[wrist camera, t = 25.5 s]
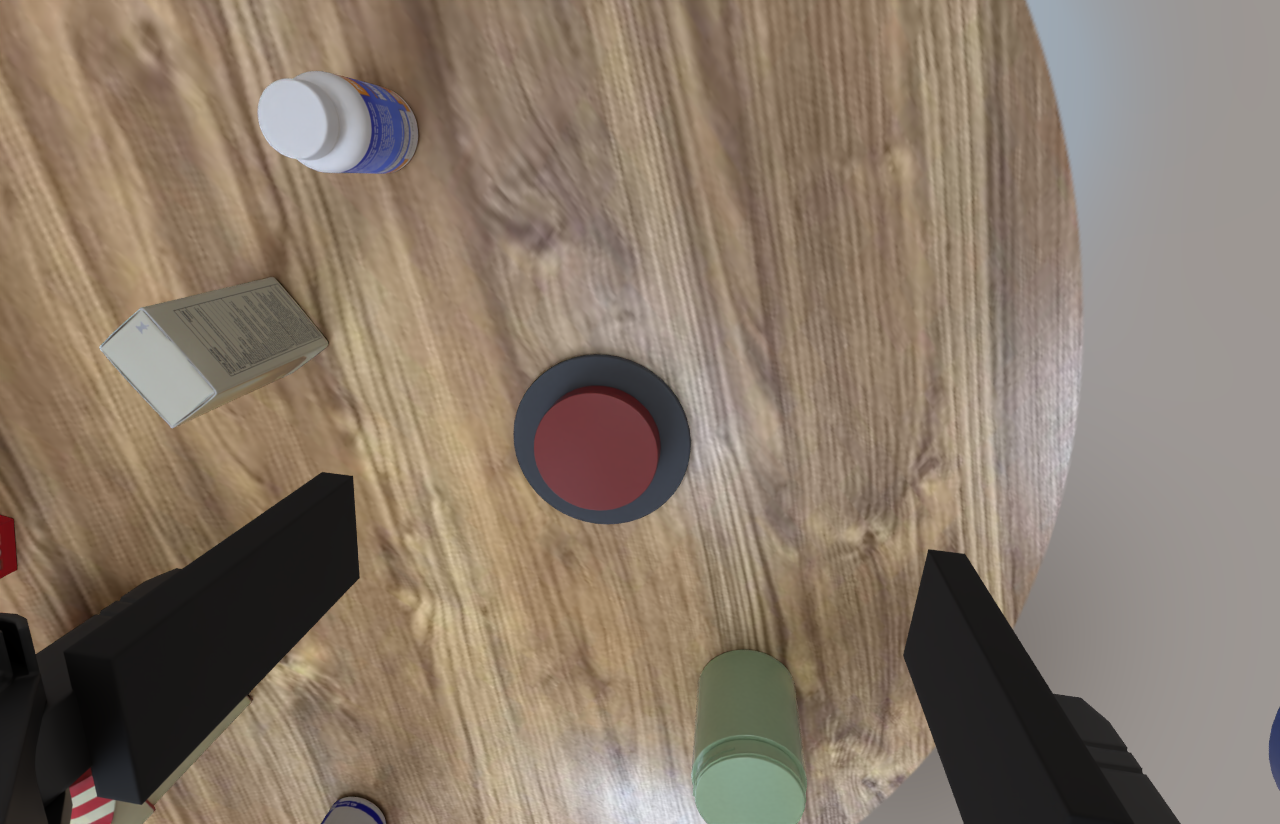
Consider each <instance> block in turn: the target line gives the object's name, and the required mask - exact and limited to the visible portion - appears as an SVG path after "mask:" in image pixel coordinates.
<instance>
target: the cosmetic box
mask: <svg viewBox="0 0 1280 824" xmlns="http://www.w3.org/2000/svg"><path fill="white" fill-rule="evenodd" d="M327 346H328V341H327V340H326V339H325V338H324V336H323V335H322V334H321V332H320V331H319V330H318V329H317V327H316V326H315V325H314V324H313V322H312V321H311V320H310V319H309V318H308V316H307V315H306V314H305V313H304V311H303V310H302V309H301V308H300V307H299V305H298V304H297V303H296V302H295V301H294V300H293V298H292V297H291V296H290V295H289V294H288V293H287V291H286V290H285V289H284V288H283V287H282V286H281V284H280V283H279V282H278V281H277V280H276V279H275V278H274V277H270V278H266V279H261V280H257V281H253V282H248V283H244V284H240V285H236V286H232V287H227V288H223V289H219V290H214V291H210V292H206V293H201V294H197V295H193V296H189V297H185V298H181V299H176V300H172V301H168V302H164V303H159V304H155V305H151V306H146V307H142V308H140V309H139V310H138V311H137V312H136V313H134V314H133V315H132V316H131V317H130V318H129V319H127V320H126V321H125V322H124V323H123V324H122V325H121V326H120V327H119V328H117V329H116V330H115V331H114V332H113V333H112V334H111V335H110V336H109V337H108V338H107V339H106V340H105V341H104V342H103V343H102V344H101V346H100V350H101V351H102V352H103V354H104V355H105V356H106V357H107V358H108V359H109V361H110V362H111V363H112V364H113V365H114V366H115V367H116V369H117V370H118V371H119V372H120V373H121V374H122V375H123V376H124V378H125V379H126V380H127V381H128V382H129V383H130V384H131V385H132V386H133V388H134V389H135V390H136V391H137V392H138V393H139V394H140V395H141V396H142V397H143V398H144V399H145V400H146V402H147V403H149V405H150V406H151V407H152V408H153V409H154V410H155V411H156V412H157V413H158V414H159V415H160V416H161V417H162V418H163V419H164V420H165V421H166V422H167V423H168V425H169V426H170V427H172V428H174V427H177V426H179V425H181V424H183V423H185V422H187V421H190V420H192V419H194V418H196V417H198V416H200V415H202V414H205V413H207V412H209V411H211V410H213V409H215V408H218V407H220V406H222V405H224V404H226V403H229V402H231V401H233V400H235V399H237V398H239V397H242V396H244V395H246V394H248V393H250V392H252V391H254V390H257V389H259V388H261V387H263V386H265V385H268V384H270V383H272V382H274V381H276V380H278V379H280V378H283V377H285V376H287V375H289V374H291V373H293V372H294V371H296V370H297V369H299V368H300V367H301V366H303V365H304V364H305V363H307V362H308V361H309V360H311V359H312V358H313V357H315V356H316V355H317V354H318V353H320V352H321V351H322V350H323V349H325V348H326V347H327Z"/></svg>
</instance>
